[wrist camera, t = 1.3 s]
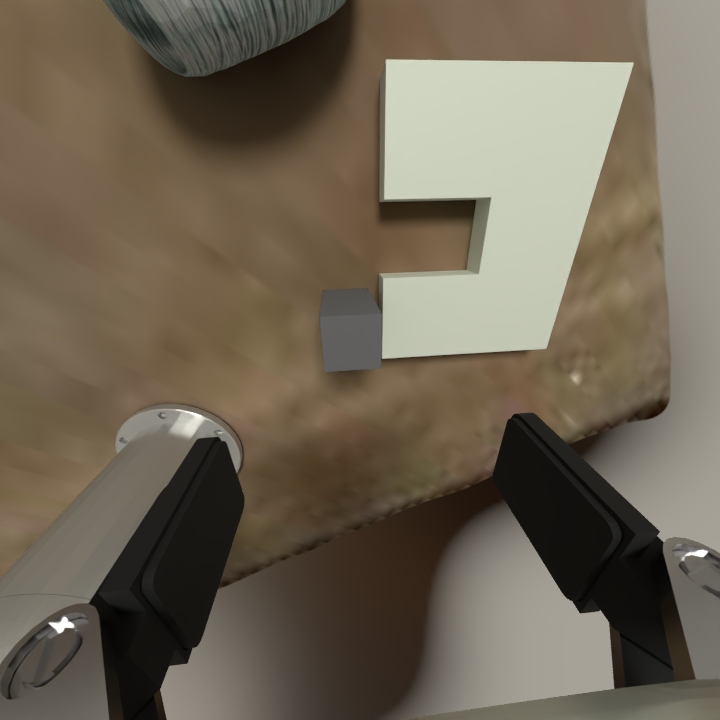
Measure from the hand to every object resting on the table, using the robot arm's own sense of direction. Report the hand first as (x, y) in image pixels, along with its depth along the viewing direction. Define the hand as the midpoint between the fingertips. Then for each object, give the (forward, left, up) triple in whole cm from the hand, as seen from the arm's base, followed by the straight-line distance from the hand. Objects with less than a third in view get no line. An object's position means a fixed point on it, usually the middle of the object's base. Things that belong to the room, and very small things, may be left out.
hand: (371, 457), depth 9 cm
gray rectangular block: (0, 0, -18) cm, 18 cm away
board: (+6, -11, -18) cm, 22 cm away
